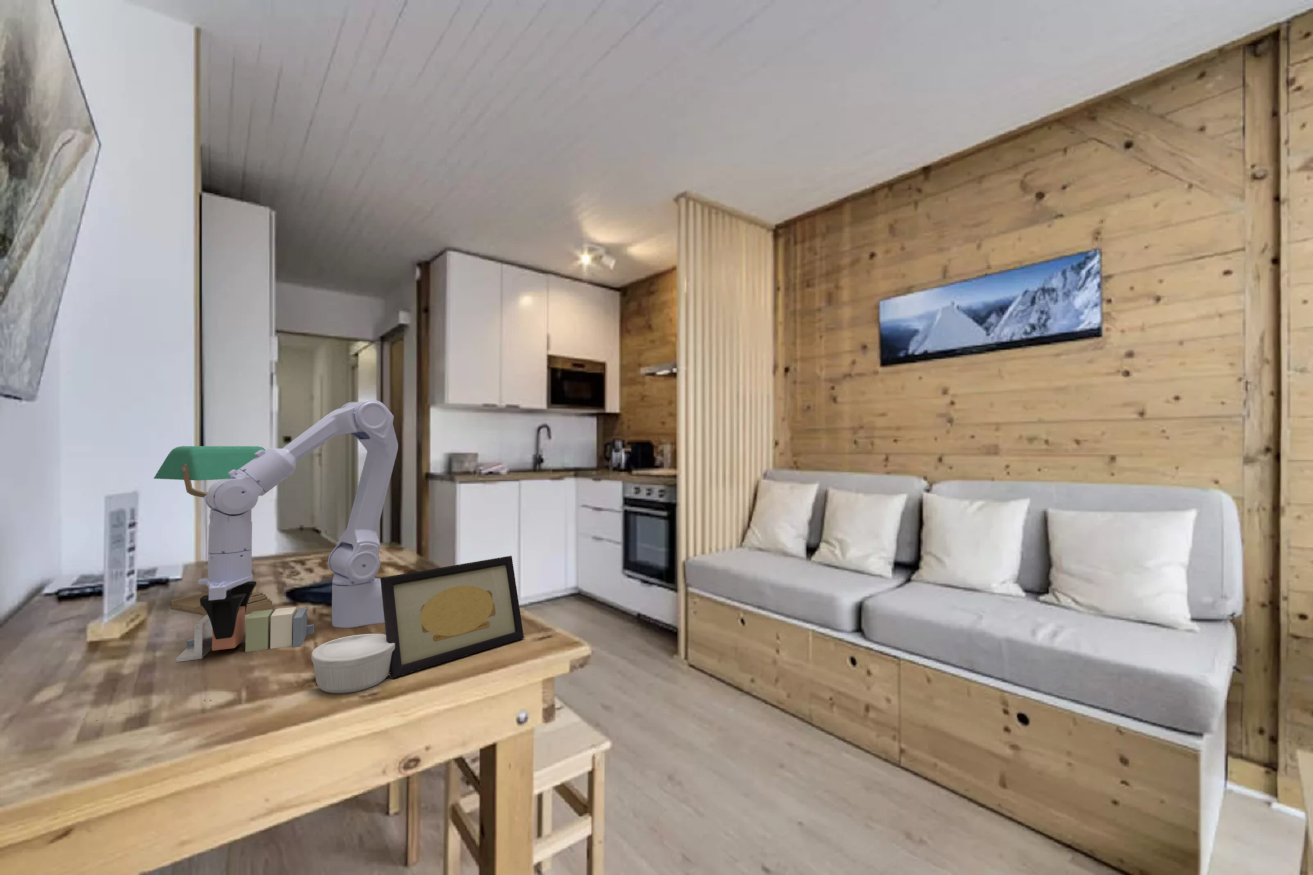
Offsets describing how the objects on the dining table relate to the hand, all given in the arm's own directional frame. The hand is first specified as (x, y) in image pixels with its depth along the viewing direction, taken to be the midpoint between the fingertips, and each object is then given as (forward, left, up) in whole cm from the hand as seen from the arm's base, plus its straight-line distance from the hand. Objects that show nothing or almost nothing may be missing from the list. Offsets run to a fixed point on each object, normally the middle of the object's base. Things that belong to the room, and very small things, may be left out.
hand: (229, 632), depth 89 cm
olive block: (-4, 0, -3) cm, 5 cm away
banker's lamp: (+9, -34, -4) cm, 36 cm away
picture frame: (-34, +13, -4) cm, 37 cm away
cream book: (-8, 0, -3) cm, 8 cm away
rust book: (0, 0, -2) cm, 2 cm away
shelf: (-3, 0, -4) cm, 5 cm away
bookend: (+4, 0, -3) cm, 5 cm away
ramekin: (-20, +19, -4) cm, 28 cm away
